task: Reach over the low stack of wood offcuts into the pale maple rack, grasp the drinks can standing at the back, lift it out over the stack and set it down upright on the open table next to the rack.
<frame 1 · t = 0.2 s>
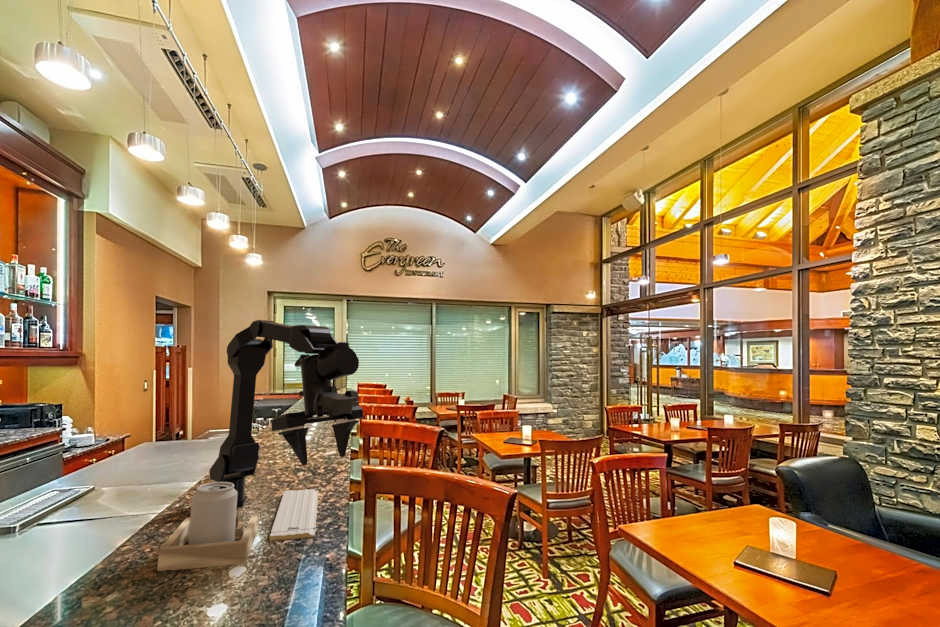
hand: (324, 460, 93), 15 cm above the countertop, tool pointing down, fingers open, 9 cm apart
can: (211, 553, 84), resting in rack
baseboard: (300, 516, 106), on the countertop
rack: (213, 547, 86), on the countertop
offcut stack: (219, 537, 91), on the countertop
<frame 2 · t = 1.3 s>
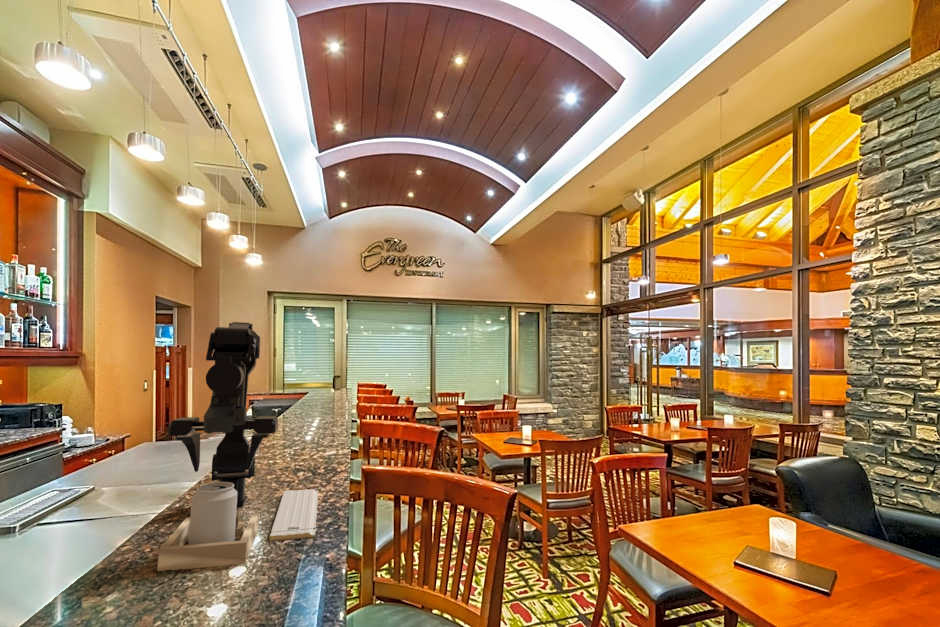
hand: (222, 470, 90), 13 cm above the countertop, tool pointing down, fingers open, 9 cm apart
nothing on the countertop moved.
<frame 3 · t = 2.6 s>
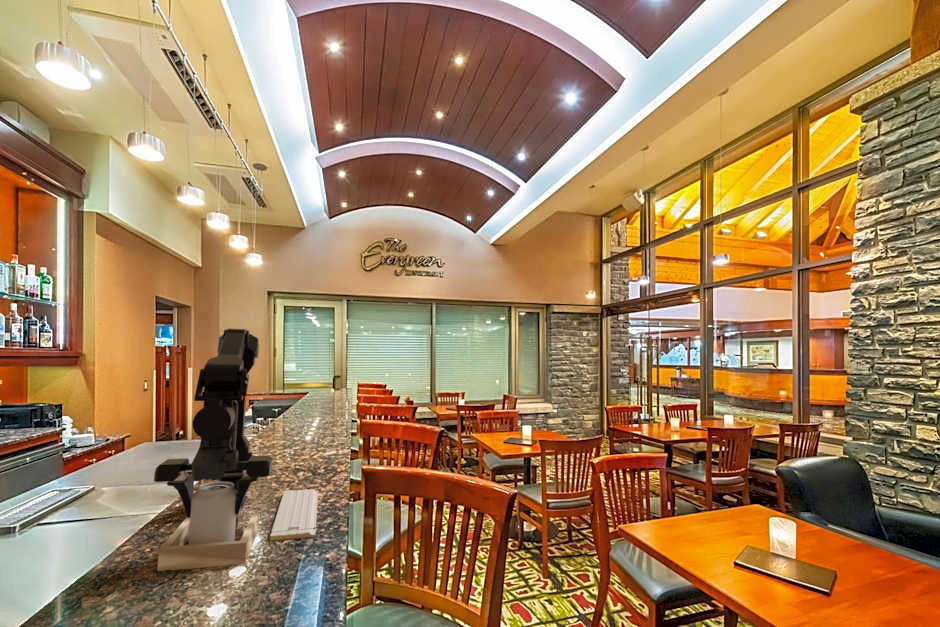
hand: (213, 515, 85), 7 cm above the countertop, tool pointing down, fingers closed on can, 7 cm apart
can: (211, 553, 84), resting in rack, touching gripper
everything else where it was.
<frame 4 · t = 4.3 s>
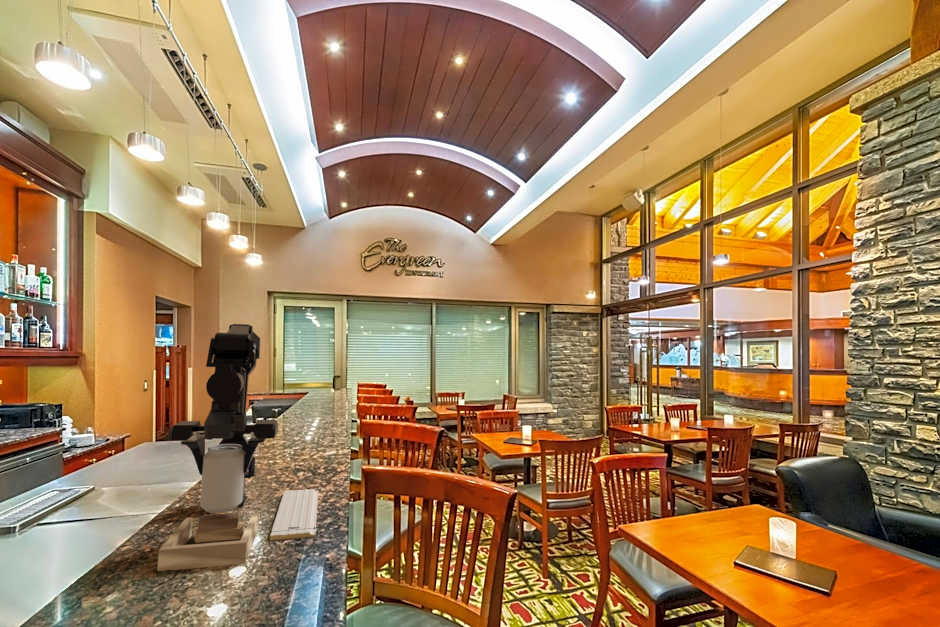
hand: (223, 473, 92), 12 cm above the countertop, tool pointing down, fingers closed on can, 7 cm apart
can: (221, 508, 92), point 6 cm above the countertop, touching gripper
everything else where it was.
when the fingers open (8 cm above the countertop, at t = 6.2 s): can drops 1 cm, on the countertop.
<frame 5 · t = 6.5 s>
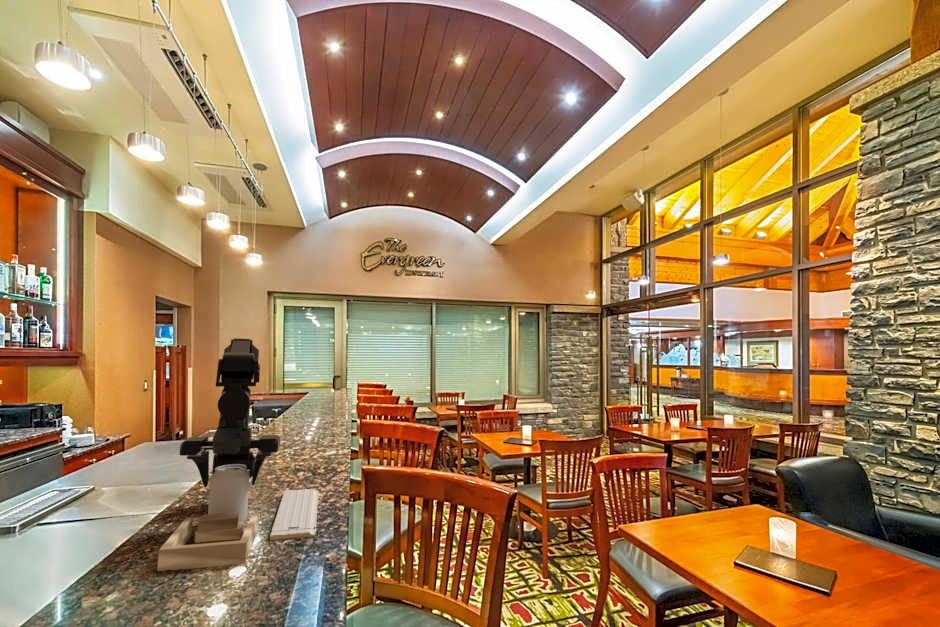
hand: (229, 485, 99), 8 cm above the countertop, tool pointing down, fingers open, 9 cm apart
can: (227, 525, 98), on the countertop
everything else where it was.
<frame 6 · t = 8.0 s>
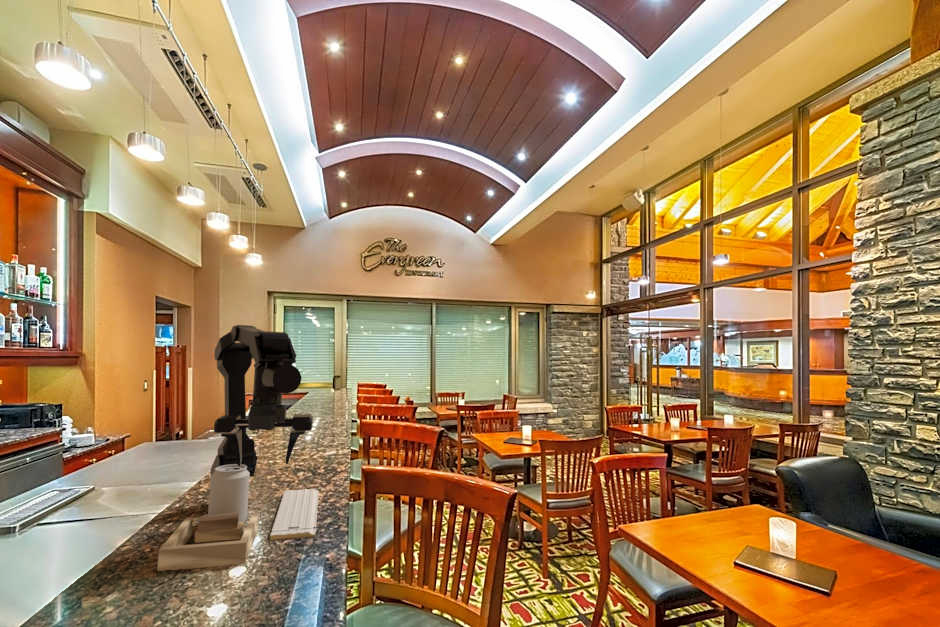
hand: (263, 464, 97), 13 cm above the countertop, tool pointing down, fingers open, 9 cm apart
nothing on the countertop moved.
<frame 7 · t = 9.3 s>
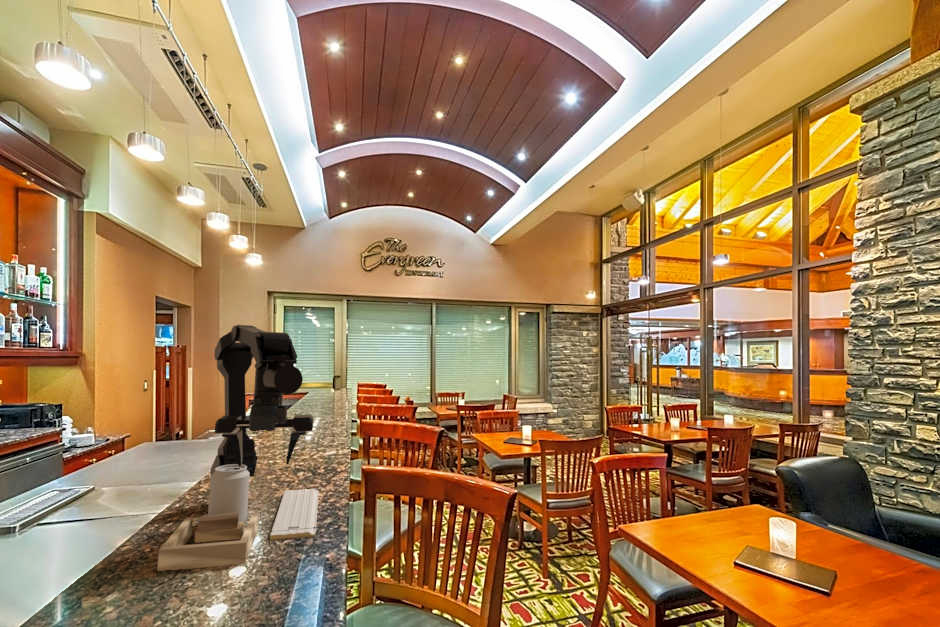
hand: (264, 464, 97), 13 cm above the countertop, tool pointing down, fingers open, 9 cm apart
nothing on the countertop moved.
at the end: can inside the target area (0.4 cm from its centre), on the countertop; can tilted 0°; the gripper is holding nothing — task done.
